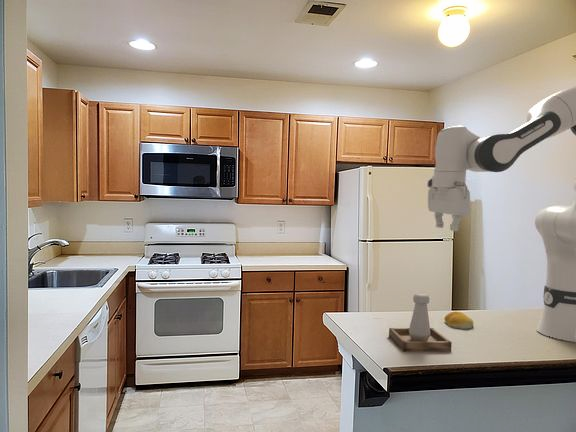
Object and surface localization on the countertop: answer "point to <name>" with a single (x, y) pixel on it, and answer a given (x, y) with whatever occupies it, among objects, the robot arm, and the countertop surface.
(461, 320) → the bread roll
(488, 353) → the countertop surface
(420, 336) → the salt shaker
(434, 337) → the tray
